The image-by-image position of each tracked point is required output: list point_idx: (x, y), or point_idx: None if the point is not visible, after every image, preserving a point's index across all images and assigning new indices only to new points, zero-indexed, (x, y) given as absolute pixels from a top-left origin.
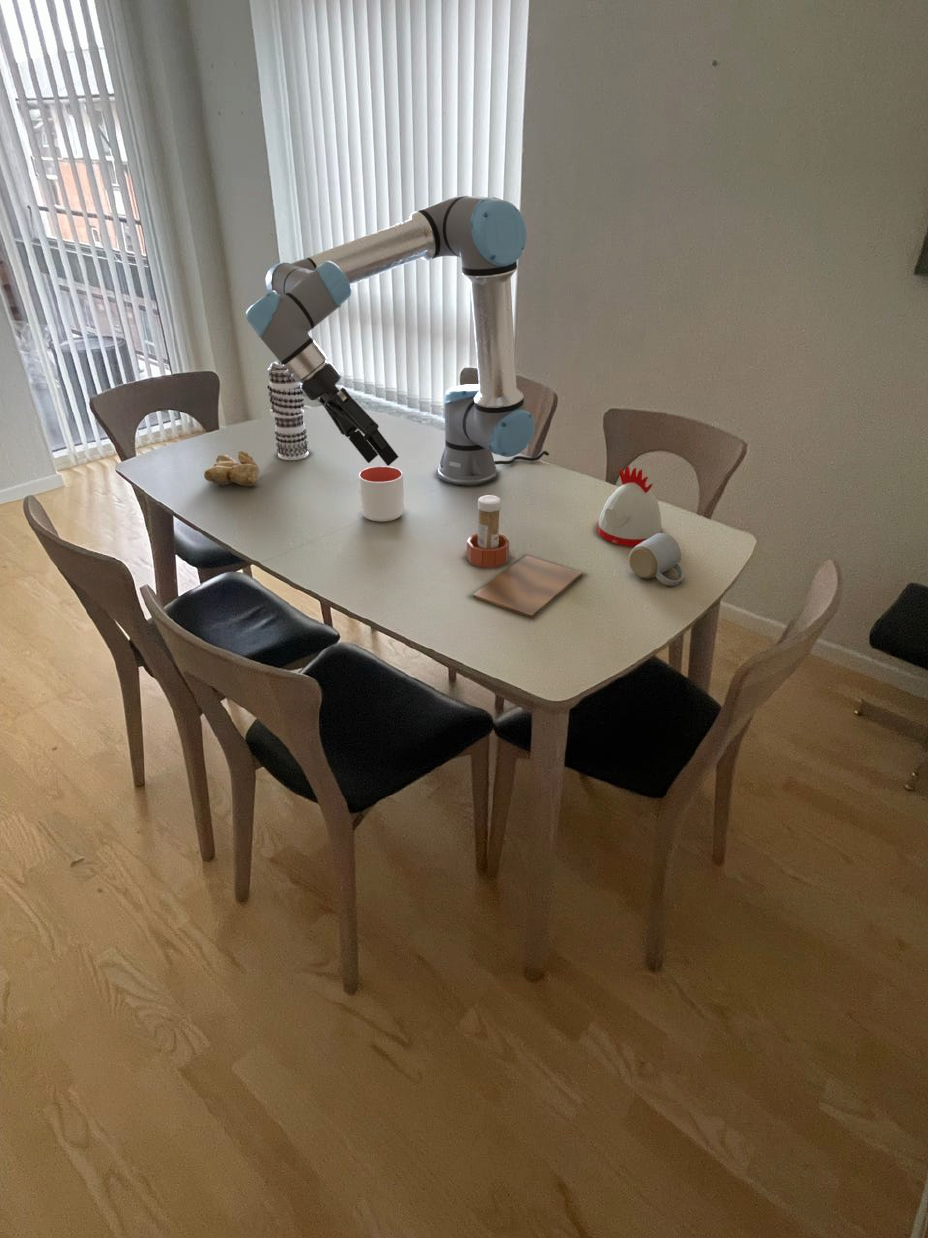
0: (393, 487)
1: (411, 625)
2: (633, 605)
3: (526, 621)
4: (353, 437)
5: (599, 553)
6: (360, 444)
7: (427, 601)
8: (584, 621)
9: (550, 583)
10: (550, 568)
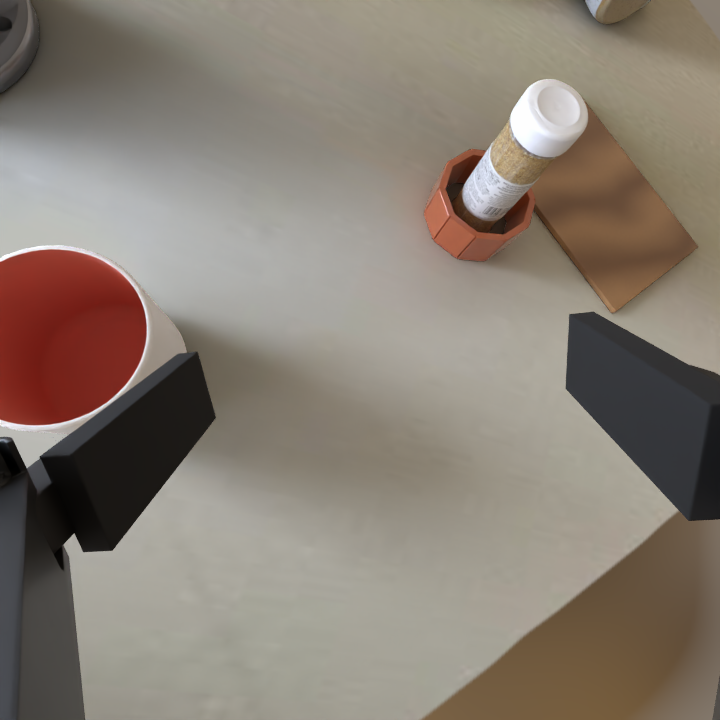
0: (157, 317)
1: None
2: (680, 87)
3: (700, 262)
4: (111, 509)
5: (506, 25)
6: (152, 454)
7: None
8: (711, 178)
9: (605, 163)
10: None
